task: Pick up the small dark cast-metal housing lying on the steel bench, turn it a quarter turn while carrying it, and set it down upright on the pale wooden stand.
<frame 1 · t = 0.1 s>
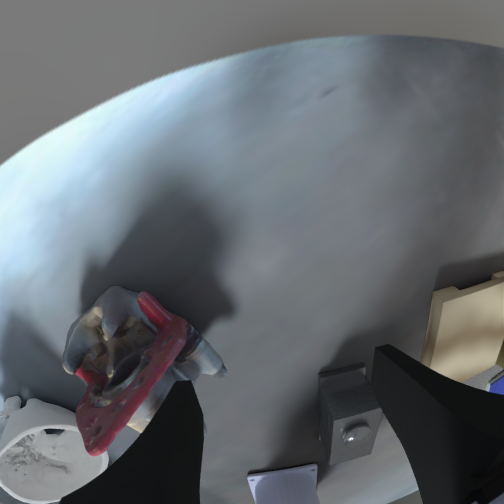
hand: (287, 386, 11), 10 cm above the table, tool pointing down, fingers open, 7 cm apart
housing: (338, 402, 25), on the table
stand: (463, 330, 24), on the table
brake caliper: (144, 340, 21), on the table
skull bowl: (52, 418, 24), on the table
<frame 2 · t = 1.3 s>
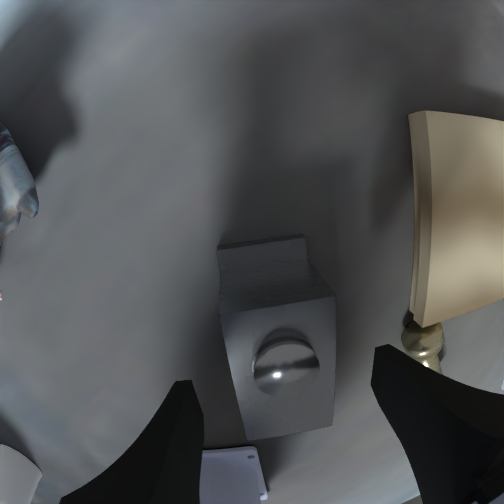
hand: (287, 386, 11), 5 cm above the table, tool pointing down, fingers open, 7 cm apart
loose bolt: (422, 355, 17), on the table
housing: (269, 322, 16), on the table
stand: (477, 210, 15), on the table
white plastic container: (20, 459, 20), on the table
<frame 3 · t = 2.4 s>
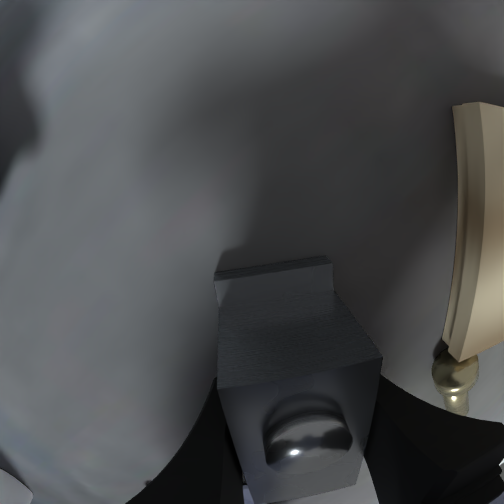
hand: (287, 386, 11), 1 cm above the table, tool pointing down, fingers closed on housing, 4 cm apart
loose bolt: (449, 384, 14), on the table
housing: (281, 363, 12), on the table, touching gripper
white plastic container: (10, 479, 16), on the table
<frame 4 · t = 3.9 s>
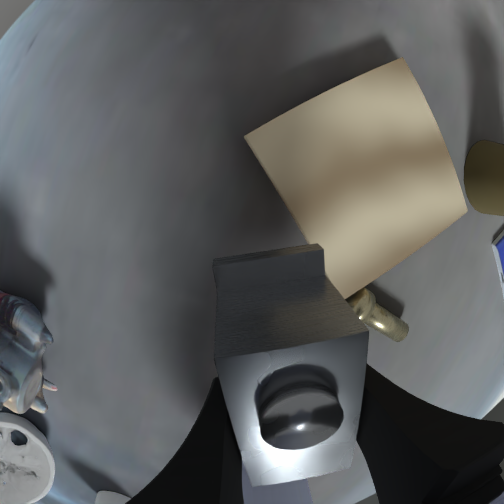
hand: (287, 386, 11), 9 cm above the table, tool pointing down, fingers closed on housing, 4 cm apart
cork: (485, 176, 19), on the table
loose bolt: (376, 314, 21), on the table
housing: (277, 348, 13), point 7 cm above the table, touching gripper
stand: (365, 173, 18), on the table
brake caliper: (20, 329, 19), on the table
white plastic container: (118, 498, 28), on the table
skull bowl: (20, 431, 23), on the table
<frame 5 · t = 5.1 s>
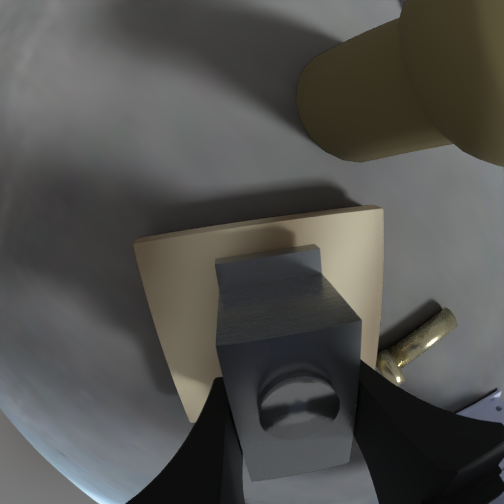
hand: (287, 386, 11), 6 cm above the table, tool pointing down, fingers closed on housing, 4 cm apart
cork: (353, 103, 13), on the table
loose bolt: (416, 333, 18), on the table
housing: (277, 346, 13), point 3 cm above the table, touching gripper
stand: (269, 316, 16), on the table
when the fingers open (4 cm above the table, at t = 5.7 s): housing stays where it is, resting on stand.
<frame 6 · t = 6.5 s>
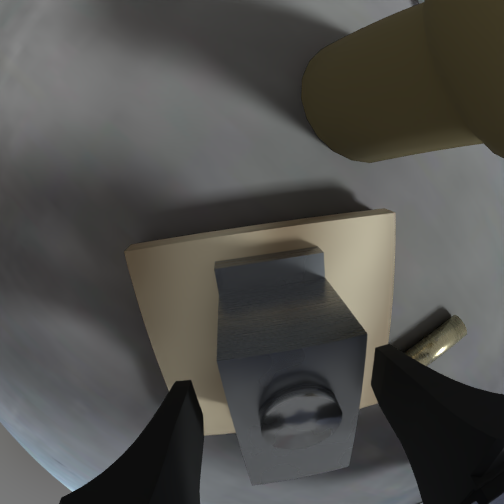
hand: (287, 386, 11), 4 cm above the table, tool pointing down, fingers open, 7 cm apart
cork: (362, 100, 12), on the table
loose bolt: (424, 341, 16), on the table
housing: (278, 349, 13), point 2 cm above the table, touching stand
stand: (272, 327, 15), on the table
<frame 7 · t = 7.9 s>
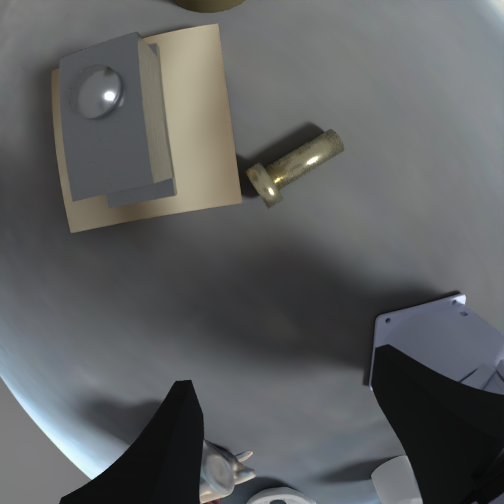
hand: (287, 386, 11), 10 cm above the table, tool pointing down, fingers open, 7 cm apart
loose bolt: (300, 159, 18), on the table
housing: (133, 124, 15), point 2 cm above the table, touching stand
stand: (143, 128, 17), on the table
brake caliper: (190, 444, 26), on the table
white plastic container: (389, 466, 31), on the table
skull bowl: (276, 500, 31), on the table
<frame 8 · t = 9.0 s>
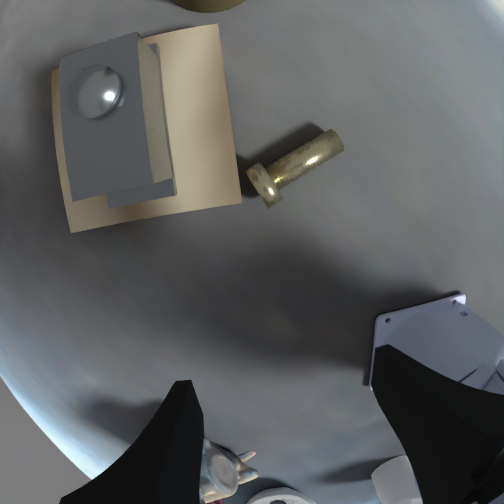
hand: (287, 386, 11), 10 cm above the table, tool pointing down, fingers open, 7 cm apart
loose bolt: (300, 159, 18), on the table
housing: (133, 124, 15), point 2 cm above the table, touching stand
stand: (143, 128, 17), on the table
brake caliper: (193, 444, 26), on the table
white plastic container: (389, 466, 31), on the table
skull bowl: (276, 500, 31), on the table
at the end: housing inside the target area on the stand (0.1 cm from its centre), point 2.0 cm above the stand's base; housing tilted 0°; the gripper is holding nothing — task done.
